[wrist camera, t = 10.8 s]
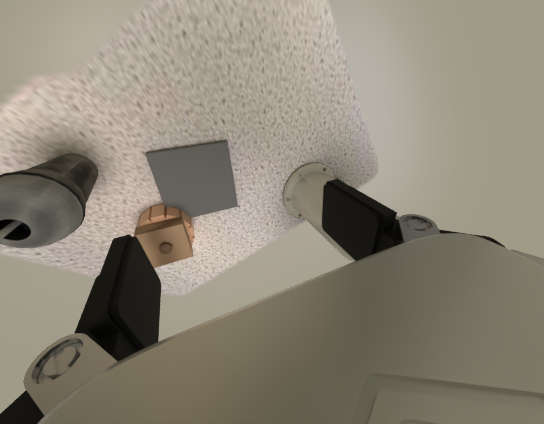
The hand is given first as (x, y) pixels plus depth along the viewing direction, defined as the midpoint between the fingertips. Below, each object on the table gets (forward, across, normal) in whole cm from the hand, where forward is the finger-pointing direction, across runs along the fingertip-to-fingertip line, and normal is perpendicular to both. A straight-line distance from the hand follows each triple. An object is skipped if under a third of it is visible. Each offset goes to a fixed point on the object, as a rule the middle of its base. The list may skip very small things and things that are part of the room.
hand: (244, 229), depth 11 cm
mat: (+28, +2, +8) cm, 29 cm away
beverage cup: (+28, +17, +2) cm, 33 cm away
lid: (+24, +9, +15) cm, 29 cm away
